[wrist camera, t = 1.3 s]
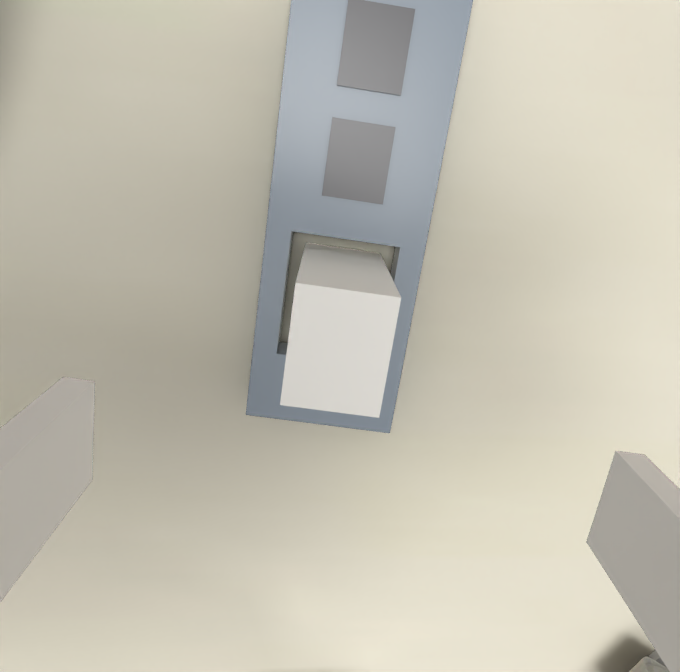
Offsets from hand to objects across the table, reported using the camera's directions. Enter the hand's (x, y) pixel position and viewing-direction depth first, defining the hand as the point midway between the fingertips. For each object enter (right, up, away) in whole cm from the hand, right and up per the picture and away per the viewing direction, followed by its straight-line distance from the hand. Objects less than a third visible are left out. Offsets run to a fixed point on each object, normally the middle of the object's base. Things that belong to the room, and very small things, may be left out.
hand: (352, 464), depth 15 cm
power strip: (0, +9, +16) cm, 19 cm away
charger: (0, +6, +17) cm, 18 cm away
